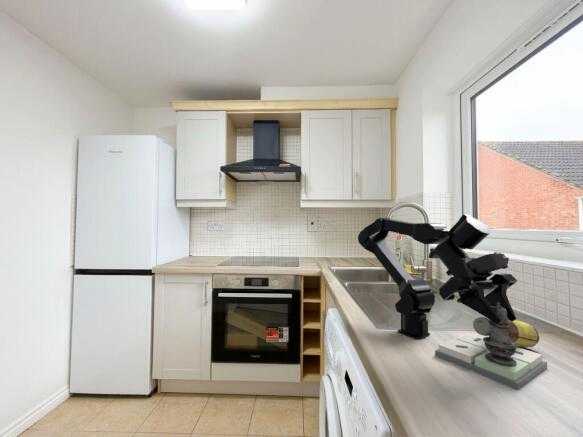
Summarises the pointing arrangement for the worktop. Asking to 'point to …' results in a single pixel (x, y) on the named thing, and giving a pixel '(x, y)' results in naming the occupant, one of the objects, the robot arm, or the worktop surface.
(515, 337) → the sauce bottle
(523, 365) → the green key
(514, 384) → the keypad board
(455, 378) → the worktop surface
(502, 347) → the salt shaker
